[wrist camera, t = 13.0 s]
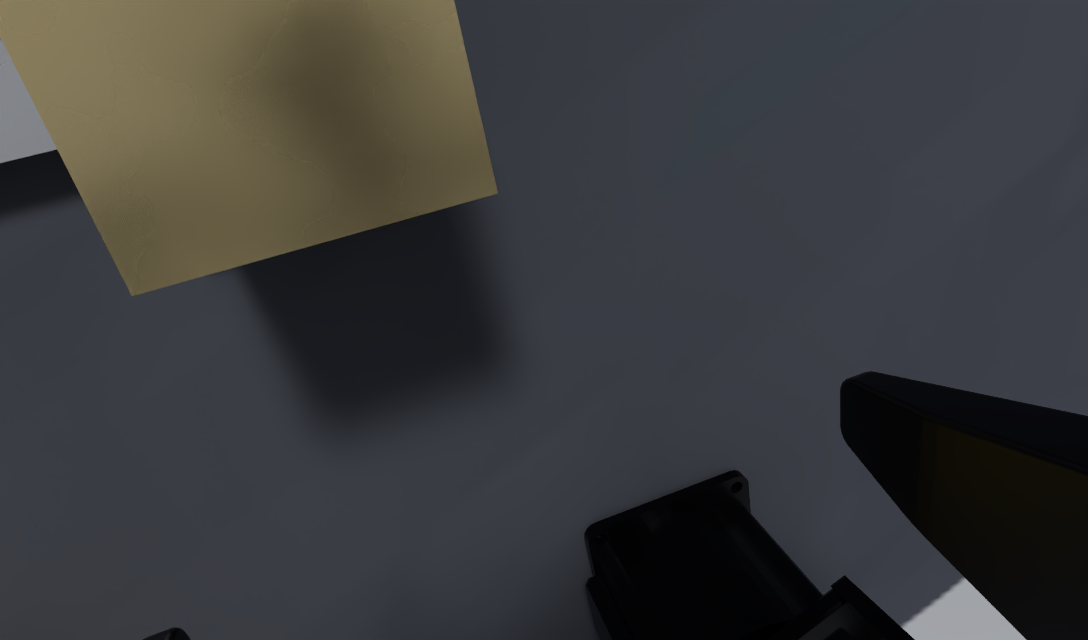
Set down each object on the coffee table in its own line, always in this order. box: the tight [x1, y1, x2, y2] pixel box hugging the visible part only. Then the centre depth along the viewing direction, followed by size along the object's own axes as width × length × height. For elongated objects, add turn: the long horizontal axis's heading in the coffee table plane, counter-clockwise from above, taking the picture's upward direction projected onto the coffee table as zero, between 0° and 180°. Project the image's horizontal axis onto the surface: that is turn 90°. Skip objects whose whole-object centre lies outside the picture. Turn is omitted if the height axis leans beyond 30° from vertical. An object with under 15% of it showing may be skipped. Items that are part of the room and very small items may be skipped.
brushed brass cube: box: [0, 0, 498, 296], centre depth 13 cm, size 6×6×6 cm
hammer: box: [0, 38, 57, 163], centre depth 14 cm, size 17×7×4 cm, turn 102°
